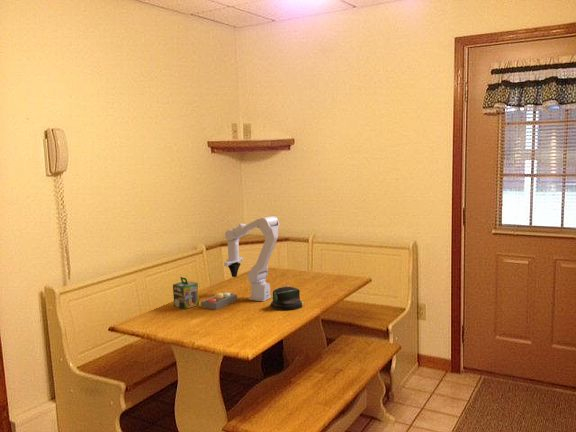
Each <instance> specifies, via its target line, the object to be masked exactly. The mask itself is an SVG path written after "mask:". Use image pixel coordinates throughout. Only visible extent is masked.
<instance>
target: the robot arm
mask: <svg viewBox="0 0 576 432" xmlns="http://www.w3.org/2000/svg"><path fill="white" fill-rule="evenodd" d="M280 225H281V224H280V222H279V219H278V218H277V216H276V215H270V216H266V217H261V218H257V219H255V220H253V221H251V222H249V223H247V224H245V223H239V224H238V226H234V227H232V229H227V230H226V231H225V233H224V235H225V236H224V237H225V239H226V241H227V257H228V258H227V259H226V261H225V262H224V267H228V268H229V269H228V270H230V275H231V277H232V278H237V275H238V272H239V268H240V266H241V262H244V257H242V256H240V251H239V250H240V249H239V247H240V244H239V242H240V238H242V237H244V236H246V235H248V234H249V232H250V231H251V230H254V229H256V228H257V229H259V230H260V231H261V233H262V235H263V236H264V237H265V239H264V242H263V245H262V247H261V250H260V253H259V255H258V258H257V260H256V263H255V264H254V265H253V266H252V267H251V269H250V270H249V271H248V273H247V279H248V281H249V282H250V291H251V292H250V293H251V294H250V295H251V296H250V297H248V298H247V299H248V300H251V301H256V302H257V301H259V302H265V301H267V300H269V299H271V298H272V296H271V285H270V283H269V282H266V281H267V278H268V275H269V273H268V271H269V267H268V264H269V262H270V261H269V260H270V258H271V256H272V254H273V251H274V249H275V247H276V246H275V245H276V244H277V242H278V238H279V227H280Z"/></svg>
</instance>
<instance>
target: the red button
mask: <svg viewBox="0 0 576 432" xmlns="http://www.w3.org/2000/svg"><path fill="white" fill-rule="evenodd" d="M210 298H211V297H210ZM207 299H208V298H207ZM208 302H209V303H215V302H216V299H214V298H211V299H208Z"/></svg>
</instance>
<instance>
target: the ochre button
mask: <svg viewBox="0 0 576 432" xmlns="http://www.w3.org/2000/svg"><path fill="white" fill-rule="evenodd" d="M223 293H224V292H223ZM223 293H222V292H216V293H215V294H214V296H215V299H218V300H221V299H223Z"/></svg>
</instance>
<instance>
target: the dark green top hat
mask: <svg viewBox="0 0 576 432" xmlns="http://www.w3.org/2000/svg"><path fill="white" fill-rule="evenodd" d="M300 293H301V291H300V289H299V288H297V287H295V286H285V285H284V286H281V287H278V288H275V289H274V290H272V301H271V302H269V304H270V308H271V309H272V310H276V311H280V312H281V311H283V312H286V311H287V312H288V311H297V310H299V309H301V308H302V307H304V306H303V304H305V302H304V301H303V302H302V301H301V299H300V298H301V297H300V295H301V294H300Z"/></svg>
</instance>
